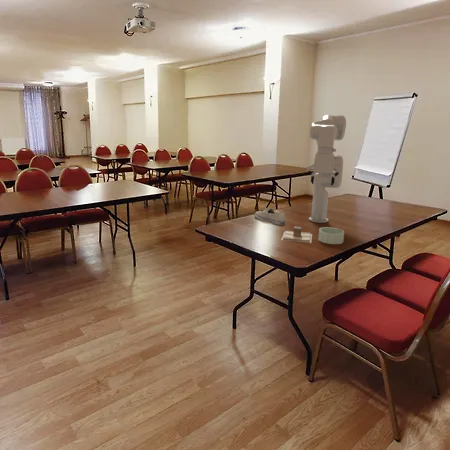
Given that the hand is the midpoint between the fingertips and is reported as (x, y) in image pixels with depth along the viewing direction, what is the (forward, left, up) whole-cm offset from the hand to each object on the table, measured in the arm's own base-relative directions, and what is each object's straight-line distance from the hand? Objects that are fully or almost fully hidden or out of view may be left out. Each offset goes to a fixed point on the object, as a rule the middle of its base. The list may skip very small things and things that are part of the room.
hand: (322, 184), depth 191 cm
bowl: (-3, +7, -31) cm, 32 cm away
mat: (-3, -11, -31) cm, 33 cm away
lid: (-3, -11, -31) cm, 33 cm away
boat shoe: (-36, -31, -32) cm, 57 cm away
